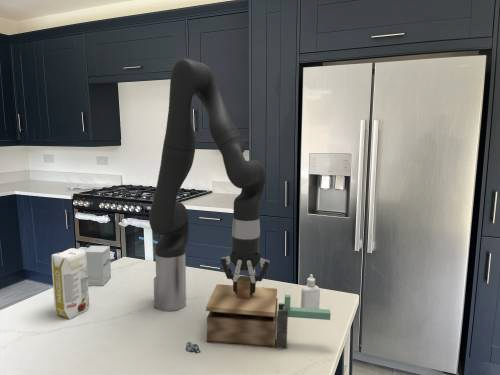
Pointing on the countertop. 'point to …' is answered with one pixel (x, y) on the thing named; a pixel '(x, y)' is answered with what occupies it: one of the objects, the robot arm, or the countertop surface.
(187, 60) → the robot arm
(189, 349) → the blueberries
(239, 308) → the lid
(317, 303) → the eye dropper bottle
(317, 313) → the green bar
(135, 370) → the countertop surface
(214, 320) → the wooden box
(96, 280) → the supplement box
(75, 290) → the juice carton
